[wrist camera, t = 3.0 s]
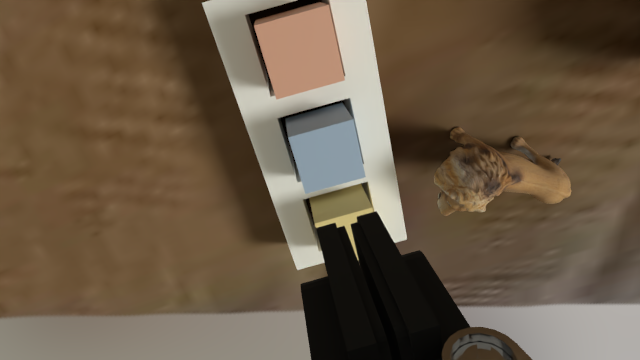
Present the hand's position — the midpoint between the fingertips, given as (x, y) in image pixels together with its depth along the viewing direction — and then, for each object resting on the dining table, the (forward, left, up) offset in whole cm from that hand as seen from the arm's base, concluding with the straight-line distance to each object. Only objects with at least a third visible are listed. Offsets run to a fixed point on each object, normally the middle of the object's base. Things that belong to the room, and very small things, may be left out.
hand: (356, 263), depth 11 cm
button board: (+4, +1, -23) cm, 23 cm away
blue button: (+4, +1, -20) cm, 20 cm away
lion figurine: (+11, +14, -23) cm, 29 cm away
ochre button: (+11, +1, -20) cm, 23 cm away
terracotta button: (-3, +1, -20) cm, 20 cm away
